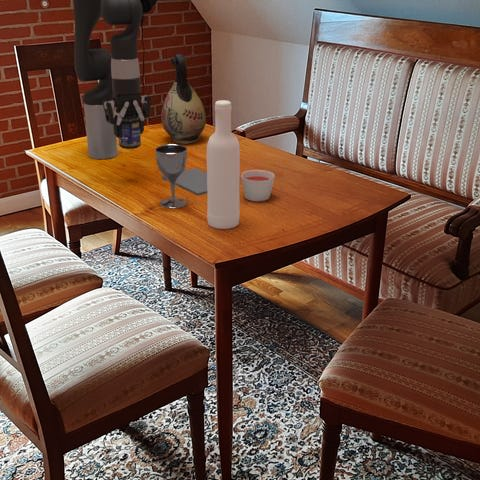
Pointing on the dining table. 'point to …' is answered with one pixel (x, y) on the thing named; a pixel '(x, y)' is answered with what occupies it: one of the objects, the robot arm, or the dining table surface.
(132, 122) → the pill bottle
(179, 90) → the ceramic jug
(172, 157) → the wine glass
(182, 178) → the place mat
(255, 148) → the dining table surface
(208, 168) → the bottle
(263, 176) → the candle
